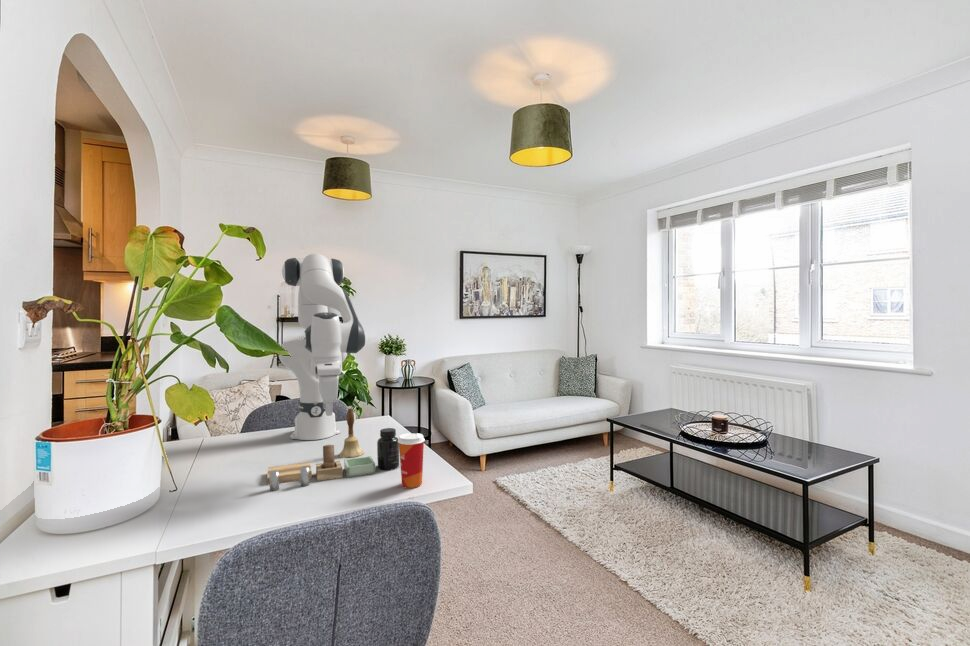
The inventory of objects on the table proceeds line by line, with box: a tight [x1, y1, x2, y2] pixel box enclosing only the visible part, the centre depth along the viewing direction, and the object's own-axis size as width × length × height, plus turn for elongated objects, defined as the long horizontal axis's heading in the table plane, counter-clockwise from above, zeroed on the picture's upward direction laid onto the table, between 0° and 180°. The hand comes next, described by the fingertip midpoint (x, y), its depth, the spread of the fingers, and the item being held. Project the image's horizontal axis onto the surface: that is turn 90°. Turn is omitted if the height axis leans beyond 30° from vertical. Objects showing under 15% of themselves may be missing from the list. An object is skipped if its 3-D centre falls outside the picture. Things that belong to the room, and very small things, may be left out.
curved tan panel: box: [266, 461, 313, 486], centre depth 140 cm, size 10×12×2 cm
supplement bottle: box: [376, 427, 400, 471], centre depth 147 cm, size 7×7×12 cm
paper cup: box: [398, 432, 426, 489], centre depth 132 cm, size 8×8×14 cm
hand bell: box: [338, 407, 365, 459], centre depth 161 cm, size 8×8×16 cm
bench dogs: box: [269, 466, 311, 492], centre depth 131 cm, size 2×10×5 cm, turn 113°
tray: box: [343, 455, 376, 478], centre depth 144 cm, size 8×8×3 cm
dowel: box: [322, 444, 335, 469], centre depth 140 cm, size 3×3×9 cm
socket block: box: [315, 460, 343, 482], centre depth 140 cm, size 7×7×3 cm
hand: (327, 412), depth 140 cm, fingers open, 8 cm apart
